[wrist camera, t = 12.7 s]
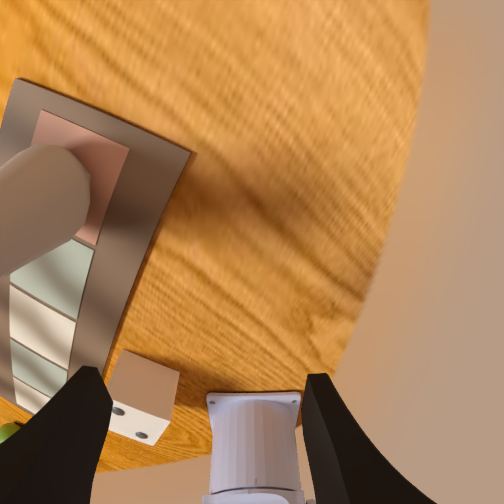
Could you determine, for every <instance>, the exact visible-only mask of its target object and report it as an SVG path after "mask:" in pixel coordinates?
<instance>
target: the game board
mask: <svg viewBox="0 0 504 504" xmlns="http://www.w3.org/2000/svg"><path fill="white" fill-rule="evenodd" d="M35 144H45V145H58V146H61V147H63V148H65V149H67V150H69V151H70V152H72V153H73V154H74V155H75V156H76V157H77V158H78V160H79V161H80V162H81V163H82V164H83V165H84V167H85V168H86V169H87V170H88V171H89V172H90V174H91V183H90V205H89V209H88V213H87V217H86V221H85V223H84V225H83V226H82V228H81V229H80V230H79V231H78V232H77V233H76V234H75V235H74V237H73V238H72V239H71V240H70V241H69V242H67V243H65V244H63V245H61V246H59V247H57V248H56V249H54V250H52V251H50V252H48V253H46V254H44V255H43V256H41V257H39V258H37V259H35V260H34V261H32V262H30V263H28V264H27V265H25V266H23V267H21V268H20V269H18V270H16V271H14V272H13V273H11V274H9V275H8V276H6V277H4V278H3V279H1V280H0V396H1V397H3V398H4V399H6V400H7V401H9V402H11V403H12V404H14V405H16V406H17V407H19V408H20V409H22V410H24V411H26V412H27V413H29V414H31V415H33V416H34V415H35V414H36V413H37V412H38V411H39V410H40V409H41V408H42V407H43V406H44V405H45V404H46V403H47V402H48V401H49V400H50V399H51V398H52V397H53V396H54V395H55V394H56V393H57V392H58V391H59V390H60V389H61V387H62V386H63V385H64V384H65V383H66V382H67V381H68V380H69V379H70V378H71V377H72V376H73V375H74V374H75V373H76V372H77V371H78V370H79V369H80V368H81V367H82V366H83V365H84V366H92V367H97V368H98V371H99V373H100V375H101V377H102V373H103V370H104V367H105V364H106V360H107V357H108V354H109V351H110V348H111V345H112V342H113V339H114V336H115V333H116V330H117V327H118V324H119V321H120V319H121V316H122V313H123V310H124V307H125V305H126V302H127V299H128V297H129V294H130V291H131V289H132V286H133V283H134V281H135V278H136V276H137V273H138V270H139V268H140V265H141V263H142V260H143V258H144V256H145V253H146V251H147V248H148V246H149V243H150V241H151V239H152V236H153V234H154V232H155V229H156V227H157V225H158V222H159V220H160V218H161V216H162V213H163V211H164V209H165V207H166V204H167V202H168V200H169V198H170V196H171V194H172V191H173V189H174V187H175V185H176V183H177V181H178V179H179V177H180V175H181V172H182V170H183V168H184V166H185V164H186V162H187V160H188V158H189V156H190V154H191V152H190V151H188V150H186V149H183V148H181V147H179V146H177V145H175V144H173V143H171V142H169V141H167V140H165V139H162V138H160V137H158V136H156V135H154V134H152V133H149V132H147V131H145V130H143V129H141V128H138V127H136V126H134V125H132V124H130V123H127V122H125V121H123V120H121V119H118V118H116V117H114V116H111V115H109V114H107V113H104V112H102V111H100V110H97V109H95V108H93V107H90V106H88V105H86V104H83V103H81V102H78V101H76V100H73V99H71V98H68V97H66V96H63V95H61V94H58V93H56V92H53V91H51V90H48V89H46V88H43V87H40V86H38V85H35V84H32V83H30V82H27V81H24V80H22V79H19V78H15V80H14V83H13V86H12V89H11V92H10V96H9V99H8V102H7V106H6V109H5V113H4V117H3V120H2V124H1V128H0V167H1V166H2V165H3V164H5V163H6V162H7V161H9V160H10V159H11V158H13V157H14V156H15V155H17V154H18V153H19V152H21V151H23V150H25V149H27V148H29V147H31V146H33V145H35Z"/></svg>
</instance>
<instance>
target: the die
mask: <svg viewBox="0 0 504 504" xmlns="http://www.w3.org/2000/svg"><path fill="white" fill-rule="evenodd" d="M179 375H180V372H178V371H175V370H173V369H170V368H167V367H165V366H162V365H160V364H158V363H155V362H153V361H150V360H148V359H145V358H143V357H141V356H138V355H136V354H134V353H131V352H129V351H127V350H125V349H123V348H122V350H121V353H120V355H119V358H118V360H117V363H116V366H115V368H114V371H113V373H112V376H111V378H110V381H109V384H108V386H107V390H108V392H109V394H110V396H111V398H112V400H113V408H112V414H111V419H110V424H109V428H108V430H111V431H113V432H116V433H118V434H121V435H124V436H126V437H129V438H131V439H134V440H137V441H140V442H143V443H146V444H148V445H151V446H153V445H154V444H155V443H156V441H157V440H158V439H159V437H160V436H161V434H162V433H163V432H164V430H165V429H166V427H167V426H168V425H169V423H170V422H171V417H172V412H173V406H174V401H175V395H176V390H177V385H178V380H179Z"/></svg>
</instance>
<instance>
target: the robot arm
mask: <svg viewBox="0 0 504 504" xmlns="http://www.w3.org/2000/svg"><path fill="white" fill-rule="evenodd" d="M206 401H207V407H208V412H209V417H210V423H211V428H212V433H213V444H212V459H211V473H210V489H209V495H203V496H202V504H305V500H304V492H303V490H301V483H300V474H299V465H298V456H297V448H296V439H295V427H296V422H297V417H298V412H299V407H300V401H301V393H299V392H277V393H208V394H207V395H206ZM112 408H113V400H112V398H111V396H110V394H109V392H108V390H107V388H106V386H105V384H104V382H103V379H102V377H101V375H100V373H99V371H98V368H97V367H92V366H84V365H83V366H82V367H81V368H80V369H79V370H78V371H77V372H76V373H75V374H74V375H73V376H72V377H71V378H70V379H69V380H68V381H67V382H66V383H65V384H64V385H63V386H62V387H61V389H60V390H59V391H58V392H57V393H56V394H55V395H54V396H53V397H52V398H51V399H50V400H49V401H48V402H47V403H46V404H45V405H44V406H43V407H42V408H41V409H40V410H39V411H38V412H37V413H36V414H35V415H34V416H33V417H32V418H31V419H30V420H29V421H28V422H27V423H26V424H25V425H23V426H22V427H21V428H20V429H19V430H18V431H16V432H15V433H14V434H13V435H11V436H10V437H9V438H7V439H6V440H5V441H3V442H2V443H0V504H90V497H91V489H92V482H93V478H94V474H95V471H96V467H97V464H98V461H99V457H100V454H101V451H102V448H103V445H104V441H105V438H106V435H107V432H108V428H109V424H110V419H111V414H112ZM301 415H302V427H303V436H304V442H305V446H306V451H307V456H308V461H309V466H310V470H311V475H312V480H313V485H314V491H315V497H316V502H315V500H313V499H310V500H306V504H437V503H435V502H434V501H432V500H431V499H430V498H428V497H427V496H426V495H424V494H423V493H422V492H421V491H420V490H418V489H417V488H416V487H415V486H414V485H412V484H411V483H410V482H409V481H408V480H406V479H405V478H404V477H403V476H402V475H401V474H400V473H399V472H398V471H397V470H396V469H395V468H394V467H393V466H392V465H391V464H390V463H389V462H388V460H386V458H385V457H384V456H383V455H382V454H381V453H380V452H379V450H378V449H377V448H376V447H375V446H374V444H373V443H372V442H371V441H370V439H369V438H368V437H367V436H366V434H365V433H364V431H363V430H362V429H361V427H360V426H359V424H358V423H357V422H356V420H355V419H354V417H353V416H352V414H351V413H350V411H349V410H348V409H347V407H346V405H345V403H344V402H343V400H342V399H341V397H340V395H339V394H338V392H337V390H336V388H335V387H334V385H333V383H332V381H331V379H330V377H329V375H328V374H326V373H319V374H308V375H307V380H306V386H305V391H304V397H303V402H302V407H301Z"/></svg>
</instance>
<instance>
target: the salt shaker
mask: <svg viewBox="0 0 504 504" xmlns="http://www.w3.org/2000/svg"><path fill="white" fill-rule="evenodd" d="M90 183H91V174H90V172H89V171H88V170H87V169H86V168H85V167H84V165H83V164H82V163H81V162H80V161H79V160H78V158H77V157H76V156H75V155H74V154H73V153H72V152H70V151H69V150H67V149H65V148H63V147H61V146H58V145H45V144H35V145H33V146H31V147H29V148H27V149H25V150H23V151H21V152H19V153H18V154H17V155H15V156H14V157H13V158H11V159H10V160H9V161H7V162H6V163H5V164H3V165H2V166H1V167H0V280H1V279H3V278H4V277H6V276H8V275H9V274H11V273H13V272H14V271H16V270H18V269H20V268H21V267H23V266H25V265H27V264H28V263H30V262H32V261H34V260H35V259H37V258H39V257H41V256H43V255H44V254H46V253H48V252H50V251H52V250H54V249H56V248H57V247H59V246H61V245H63V244H65V243H67V242H69V241H70V240H71V239H72V238H73V237H74V235H75V234H76V233H77V232H78V231H79V230H80V229H81V228H82V226H83V225H84V223H85V221H86V217H87V213H88V209H89V205H90Z"/></svg>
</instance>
